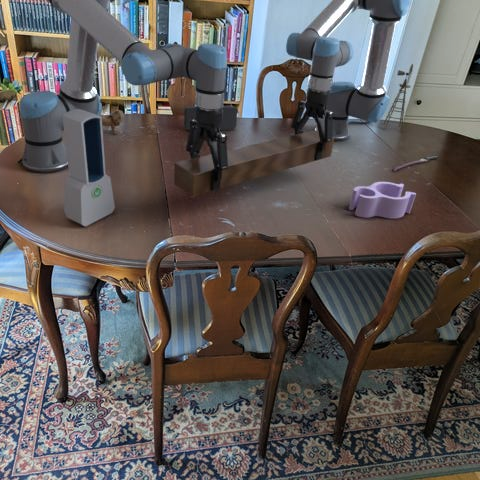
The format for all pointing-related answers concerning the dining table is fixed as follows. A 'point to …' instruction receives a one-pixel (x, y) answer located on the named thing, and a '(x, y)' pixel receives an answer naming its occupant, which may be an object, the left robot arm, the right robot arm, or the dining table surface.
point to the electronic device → (86, 169)
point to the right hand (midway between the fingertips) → (307, 154)
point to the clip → (381, 200)
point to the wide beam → (250, 162)
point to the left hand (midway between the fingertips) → (205, 182)
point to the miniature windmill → (400, 99)
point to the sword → (415, 162)
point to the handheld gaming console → (227, 122)
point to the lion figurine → (113, 120)
